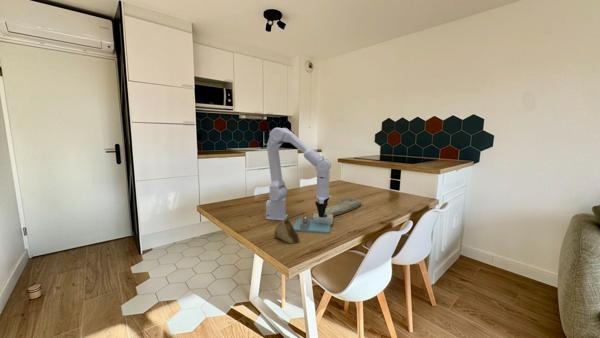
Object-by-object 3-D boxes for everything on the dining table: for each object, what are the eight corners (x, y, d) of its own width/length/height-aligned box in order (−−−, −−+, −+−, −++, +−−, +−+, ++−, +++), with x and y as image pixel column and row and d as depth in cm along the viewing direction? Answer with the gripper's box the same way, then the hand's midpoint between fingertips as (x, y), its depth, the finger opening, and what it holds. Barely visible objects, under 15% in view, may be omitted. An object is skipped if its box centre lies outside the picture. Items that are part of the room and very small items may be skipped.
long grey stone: (313, 218, 130) (329, 224, 123) (313, 208, 128) (329, 214, 122) (350, 201, 155) (365, 205, 148) (351, 193, 153) (366, 197, 147)
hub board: (292, 231, 109) (292, 229, 109) (297, 219, 122) (297, 218, 122) (329, 233, 106) (329, 231, 106) (330, 222, 120) (331, 220, 120)
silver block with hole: (332, 224, 114) (332, 218, 114) (312, 223, 116) (312, 217, 116) (332, 220, 120) (333, 214, 120) (314, 219, 121) (314, 213, 121)
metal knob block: (300, 231, 109) (300, 219, 108) (302, 224, 117) (303, 214, 116) (307, 231, 108) (307, 220, 108) (309, 224, 116) (310, 214, 115)
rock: (266, 231, 103) (273, 237, 93) (278, 213, 104) (285, 217, 95) (287, 243, 106) (295, 251, 97) (298, 226, 108) (307, 231, 98)
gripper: (331, 189, 108) (329, 220, 110) (332, 183, 122) (331, 210, 124) (314, 189, 109) (313, 219, 111) (317, 182, 123) (317, 209, 125)
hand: (322, 214), depth 118 cm, fingers open, 7 cm apart
